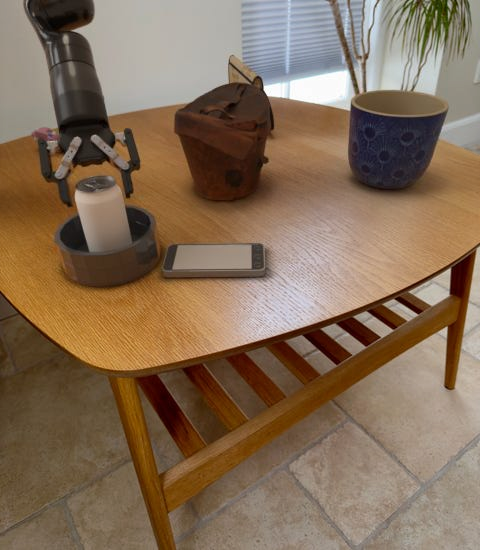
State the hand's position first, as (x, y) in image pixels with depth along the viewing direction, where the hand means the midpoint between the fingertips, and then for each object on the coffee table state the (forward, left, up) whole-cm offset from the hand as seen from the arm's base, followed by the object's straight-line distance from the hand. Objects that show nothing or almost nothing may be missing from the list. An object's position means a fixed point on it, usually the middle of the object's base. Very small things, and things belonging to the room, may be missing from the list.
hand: (99, 201), depth 65 cm
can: (+1, -3, -8) cm, 9 cm away
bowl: (+1, -3, -8) cm, 9 cm away
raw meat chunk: (-24, +44, -8) cm, 51 cm away
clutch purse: (+24, +61, -9) cm, 66 cm away
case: (+18, +21, -9) cm, 29 cm away
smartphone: (+17, -5, -8) cm, 20 cm away
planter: (+50, +23, -8) cm, 56 cm away
